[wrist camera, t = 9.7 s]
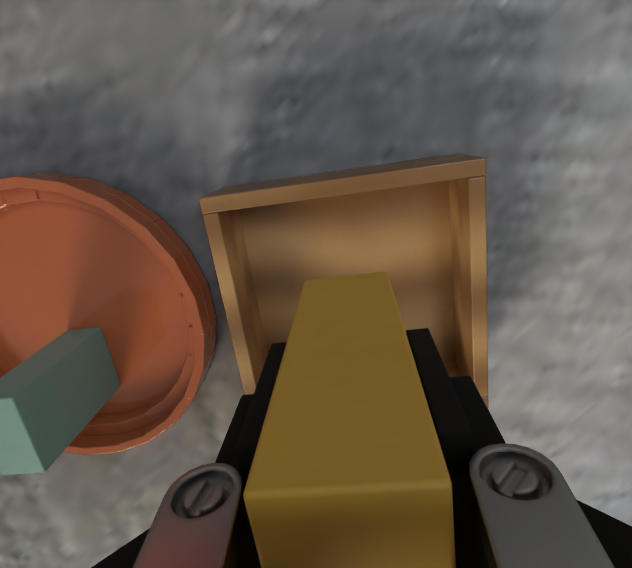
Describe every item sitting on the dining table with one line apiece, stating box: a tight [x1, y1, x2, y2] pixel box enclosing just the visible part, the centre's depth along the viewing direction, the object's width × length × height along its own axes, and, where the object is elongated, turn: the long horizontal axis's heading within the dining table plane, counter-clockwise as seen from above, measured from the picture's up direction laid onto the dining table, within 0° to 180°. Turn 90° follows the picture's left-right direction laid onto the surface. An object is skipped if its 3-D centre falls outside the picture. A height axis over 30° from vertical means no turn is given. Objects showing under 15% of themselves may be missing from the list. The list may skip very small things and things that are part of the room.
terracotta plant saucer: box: [0, 172, 216, 455], centre depth 27 cm, size 18×18×3 cm
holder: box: [199, 153, 488, 408], centre depth 24 cm, size 14×14×5 cm
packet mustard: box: [243, 271, 456, 568], centre depth 9 cm, size 5×2×8 cm, turn 8°
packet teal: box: [0, 327, 121, 475], centre depth 25 cm, size 5×2×8 cm, turn 8°
